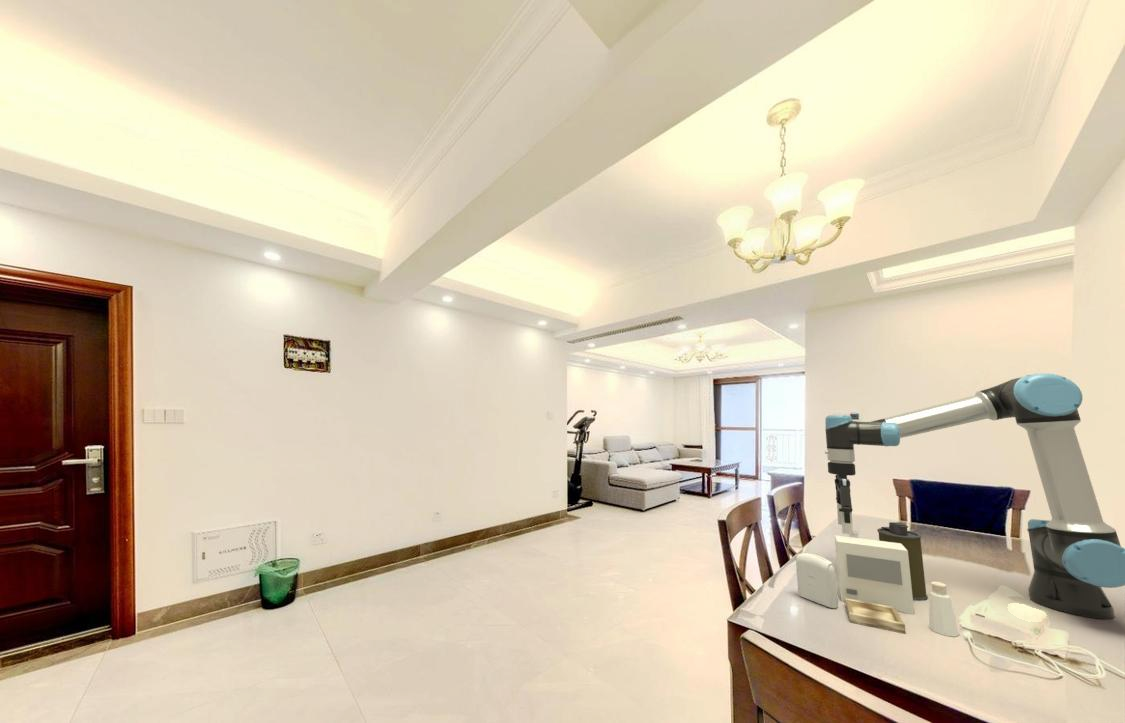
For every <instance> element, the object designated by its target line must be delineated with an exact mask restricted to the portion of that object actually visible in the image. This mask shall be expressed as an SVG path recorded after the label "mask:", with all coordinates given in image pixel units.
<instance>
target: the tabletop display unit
mask: <svg viewBox="0 0 1125 723" xmlns="http://www.w3.org/2000/svg"><path fill="white" fill-rule="evenodd" d="M834 544H835V554H836V556H835V558H836V569H837V571H836V572H837V582H838V592H839V596H840V599H841V601H842V602H845V598H847V599H853V600H858V601H863V602H869V603H874V604H880V605H885V606H890V607H895V608H896V610H897V612H898V613H900V612H901V613H905V614H911V615H915V608H914V607H915V606H914V600H913V596H912V587H911V577H910V567H909V558H908V550H907V549H906V548H905V547H904V546H903V545H902V544H901V543H893V542H885V541H879V540H877V539H869V538H861V537H860V538H859V537H852V536H843V535H837V534H835V535H834Z"/></svg>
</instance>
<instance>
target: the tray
mask: <svg viewBox="0 0 1125 723" xmlns="http://www.w3.org/2000/svg"><path fill="white" fill-rule="evenodd" d="M844 605H845V609H846V612H847V616H848V619H849V623H852V624H857V625H862V626H867V627H872V628H875V629H882V630H887V631H891V632H896V633H899V634H900V633H901V634H905V635H906V634H907V633H906V632H907V631H906V625H905V622H904V621H903V618H902V617H901V616H900V614H899V611H897V610H896V608H895V607H890V606H885V605H880V604H874V603H869V602H863V601H858V600H853V599H847V598H845V601H844Z"/></svg>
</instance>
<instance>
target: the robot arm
mask: <svg viewBox="0 0 1125 723" xmlns="http://www.w3.org/2000/svg"><path fill="white" fill-rule="evenodd" d="M1082 404H1083V394H1082V391H1081V388H1080V387H1079V386H1078V385H1077V384H1076V383H1075V382H1073V381H1072V380H1070V379H1069V378H1066V377H1065V376H1062V375H1060V374H1055V373H1045V372H1044V373H1033V374H1027V375H1025V376H1021V377H1017V378H1011V379H1010V380H1007V381H1005V382H1003V383H1000V384H997V385H994V386H991V387H989V388H984V389H983V390H979V391H976V392H975V394H974V395H973V396H969V397H968V396H967V397H963V398H960V399H956V400H953V401H952V400H951V401H948V402H944V403H940V404H937V405H932V406H927V407H924V408H921V409H916V410H912V411H907V412H904V413H900V414H896V415H892V416H888V417H884V418H880V419H877V420H871V421H855V420H854V421H853V418H852V416H851V415H847V414H846V415H841V414H840V415H839V414H838V415H837V414H835V415H833V414H832V415H831V414H830V415H827V416H826V417H825V421H824V422H825V423H824V424H825V430H824V431H825V440H826V441H825V442H826V450H825V451H824V454H825V455H826V456H827V461H828V462H827V472H828V473H829V474H831V475H835V479H834V484H835V496H836V497H835V500H836V503H837V504H836V508H837V509H836V510H837V512H836V513H837V524H838V525H841V531H842V532H841V533H842V534H844V535H845V534H846V535H854V529H853V524H854V523H853V511H854V510H853V505H852V497H851V481H850V479H848V476H855V475H856V474H857V473H856V464H855V461H856V458H855V456H856V455H855V448H854V446H855V445H857V446H858V445H860V446H861V445H862V446H878V447H879V446H881V447H897V446H899V445H900V444H901V443H900V442H901V439H902V438H907V437H912V436H916V435H919V434H924V433H929V432H933V431H934V432H935V431H938V430H943V429H947V428H952V427H955V426H960V425H964V424H969V423H973V422H978V421H979V422H980V421H983V420H991V421H997V420H998V421H999V420H1002V419H1003V420H1004V419H1010V418H1014V419H1015V422H1016V425H1017V426H1019V427H1021V428H1022V429H1024V430H1026V433H1027V436H1028V440H1029V443H1030V446H1031V450H1032V453H1033V457H1034V460H1035V464H1036V468H1037V470H1038V475H1039V477H1040V481H1041V484H1042V488H1043V491H1044V495H1045V497H1046V498H1045V499H1046V501H1047V505H1048V509H1049V513H1050V515H1051V519H1050V520H1046V519H1033V518H1031V519H1029V520H1028V521H1027V528H1026V531H1027V532H1028V538H1029V545H1030V551H1031V558H1032V559H1031V560H1032V564H1033V574H1032V577H1031V580H1030V584H1029V586H1028V595H1029V596H1028V597H1030V598H1031V599H1032V600H1031V599H1030V598H1029V599H1030V600H1031V601H1033V602H1034V601H1035V602H1034V603H1036V602H1037V603H1036V604H1039V605H1041V604H1042V605H1041V606H1043V605H1044V606H1043V607H1046V606H1047V608H1049V607H1050V609H1052V608H1053V609H1052V610H1056V609H1057V610H1056V611H1059V610H1060V611H1061V612H1063V611H1064V612H1063V613H1066V614H1067V613H1068V614H1072V615H1077V616H1082V617H1087V618H1094V619H1114V618H1115V612H1114V611H1115V610H1114V606H1113V605H1112V603H1111V601H1110V599H1109V598H1108V597H1107V594H1106V593H1105V591H1104V590H1103V588H1105V589H1106V588H1107V589H1108V588H1109V589H1110V588H1121V587H1124V586H1125V548H1124V547H1122V546H1121V543H1120V539H1119V537H1118V534H1117V530H1116V528H1114V527H1112V526H1110V525H1109V524H1107V523H1106V522H1105V521H1104V519H1103V516H1102V513H1101V510H1100V506H1099V503H1098V500H1097V496H1096V493H1095V490H1094V488H1093V484H1092V481H1091V478H1090V474H1089V471H1088V468H1087V464H1086V462H1085V458H1084V455H1083V452H1082V449H1081V445H1080V442H1079V440H1078V437H1077V433H1076V431H1075V427H1076V426H1078V424H1080V422H1082V420H1081V417H1080V414H1079V410H1078V409H1079V408H1080V406H1081V405H1082ZM1060 611H1059V612H1060Z"/></svg>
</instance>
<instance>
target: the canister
mask: <svg viewBox="0 0 1125 723" xmlns="http://www.w3.org/2000/svg"><path fill="white" fill-rule="evenodd" d="M908 528H909V526H908V525H907V524H904V523H902V522H897V521H895V522H893V521H891V522H888V526H881V527H880V528H878V529H877V532H878V541H885V542H893V543H901V544H902V545H903V546H904V547H905V548H906V549H907V550H908V558H909V567H910V577H911V587H912V596H913V601H926V600H928V598H929V596H928V595H927V589H926V588H927V587H926V578H925V569H924V567H925V566H924V560H923V551H922V550H923V548H922V541H921V538H922V535H921V534H920V533H917V532H914V531H911V530H910V531H909V530H908Z"/></svg>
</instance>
